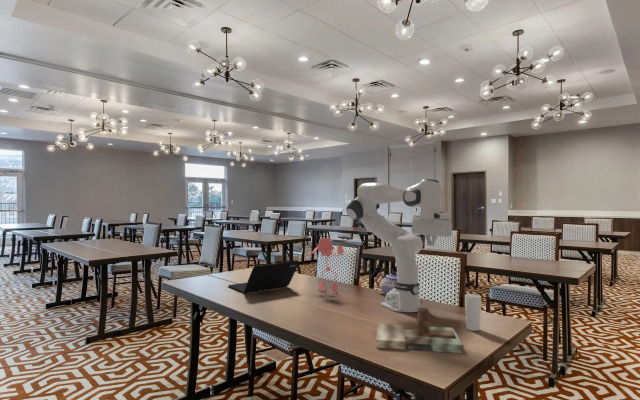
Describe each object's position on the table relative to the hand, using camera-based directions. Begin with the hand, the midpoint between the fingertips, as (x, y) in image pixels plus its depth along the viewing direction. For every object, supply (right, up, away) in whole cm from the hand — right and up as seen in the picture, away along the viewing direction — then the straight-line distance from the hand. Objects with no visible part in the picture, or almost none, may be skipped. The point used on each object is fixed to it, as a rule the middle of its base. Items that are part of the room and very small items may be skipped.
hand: (430, 245), depth 168 cm
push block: (-3, -34, -17) cm, 38 cm away
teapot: (-4, -38, +60) cm, 71 cm away
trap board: (-10, -37, -16) cm, 41 cm away
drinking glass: (+18, -37, -1) cm, 42 cm away
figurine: (-47, -38, +66) cm, 89 cm away
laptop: (-87, -38, +77) cm, 122 cm away
